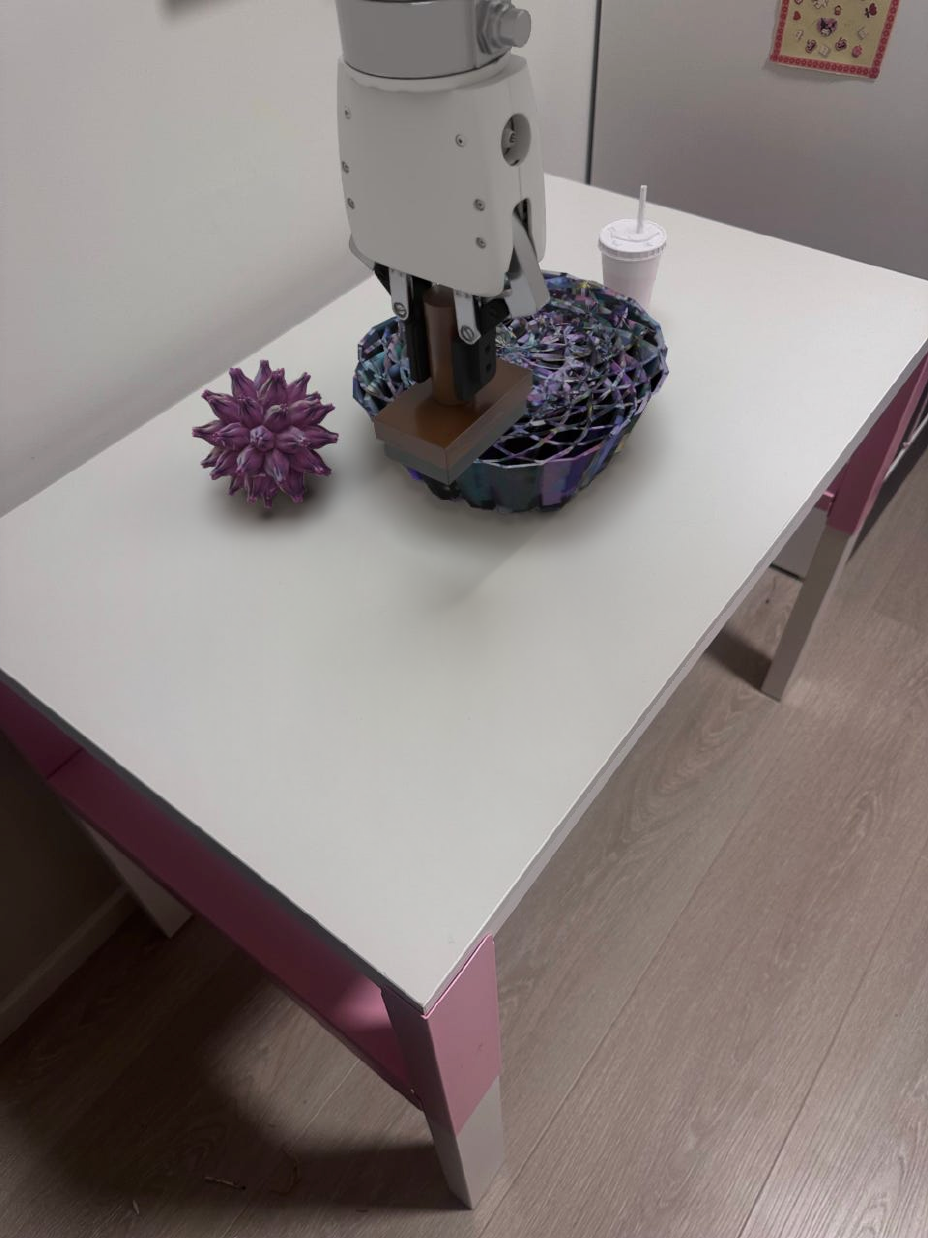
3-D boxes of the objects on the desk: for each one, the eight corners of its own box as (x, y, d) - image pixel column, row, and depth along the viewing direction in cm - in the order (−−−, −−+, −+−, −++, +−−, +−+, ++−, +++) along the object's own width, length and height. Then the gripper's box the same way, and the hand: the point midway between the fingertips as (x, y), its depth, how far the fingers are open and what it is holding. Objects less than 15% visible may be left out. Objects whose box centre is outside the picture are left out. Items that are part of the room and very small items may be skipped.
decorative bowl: (312, 484, 79) (283, 397, 71) (478, 314, 91) (469, 223, 83) (562, 594, 69) (561, 507, 61) (710, 386, 81) (725, 291, 73)
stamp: (464, 384, 59) (455, 246, 52) (532, 411, 57) (533, 270, 49) (378, 458, 55) (355, 319, 47) (449, 490, 52) (436, 349, 45)
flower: (271, 561, 73) (175, 481, 76) (372, 479, 78) (278, 408, 81) (252, 470, 63) (143, 384, 66) (369, 383, 68) (263, 307, 71)
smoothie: (660, 344, 87) (679, 201, 76) (594, 346, 87) (604, 205, 76) (652, 308, 91) (668, 168, 80) (589, 311, 91) (598, 172, 80)
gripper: (630, 24, 37) (602, 390, 51) (343, -23, 44) (389, 312, 58) (531, 85, 33) (531, 462, 47) (235, 24, 40) (312, 370, 54)
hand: (453, 377), depth 53 cm, fingers closed on stamp, 2 cm apart
